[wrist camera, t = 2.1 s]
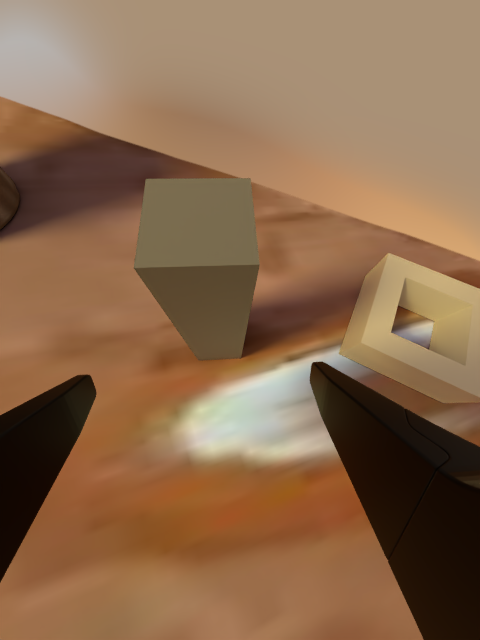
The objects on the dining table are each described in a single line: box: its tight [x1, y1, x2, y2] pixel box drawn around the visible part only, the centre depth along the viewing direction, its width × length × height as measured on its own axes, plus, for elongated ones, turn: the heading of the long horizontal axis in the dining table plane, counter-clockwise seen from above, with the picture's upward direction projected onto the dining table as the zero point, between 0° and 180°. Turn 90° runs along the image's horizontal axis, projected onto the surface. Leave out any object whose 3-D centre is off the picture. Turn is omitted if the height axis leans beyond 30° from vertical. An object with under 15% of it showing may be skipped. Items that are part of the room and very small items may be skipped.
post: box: [134, 178, 259, 360], centre depth 15 cm, size 4×4×15 cm
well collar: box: [339, 253, 480, 403], centre depth 21 cm, size 10×10×4 cm
